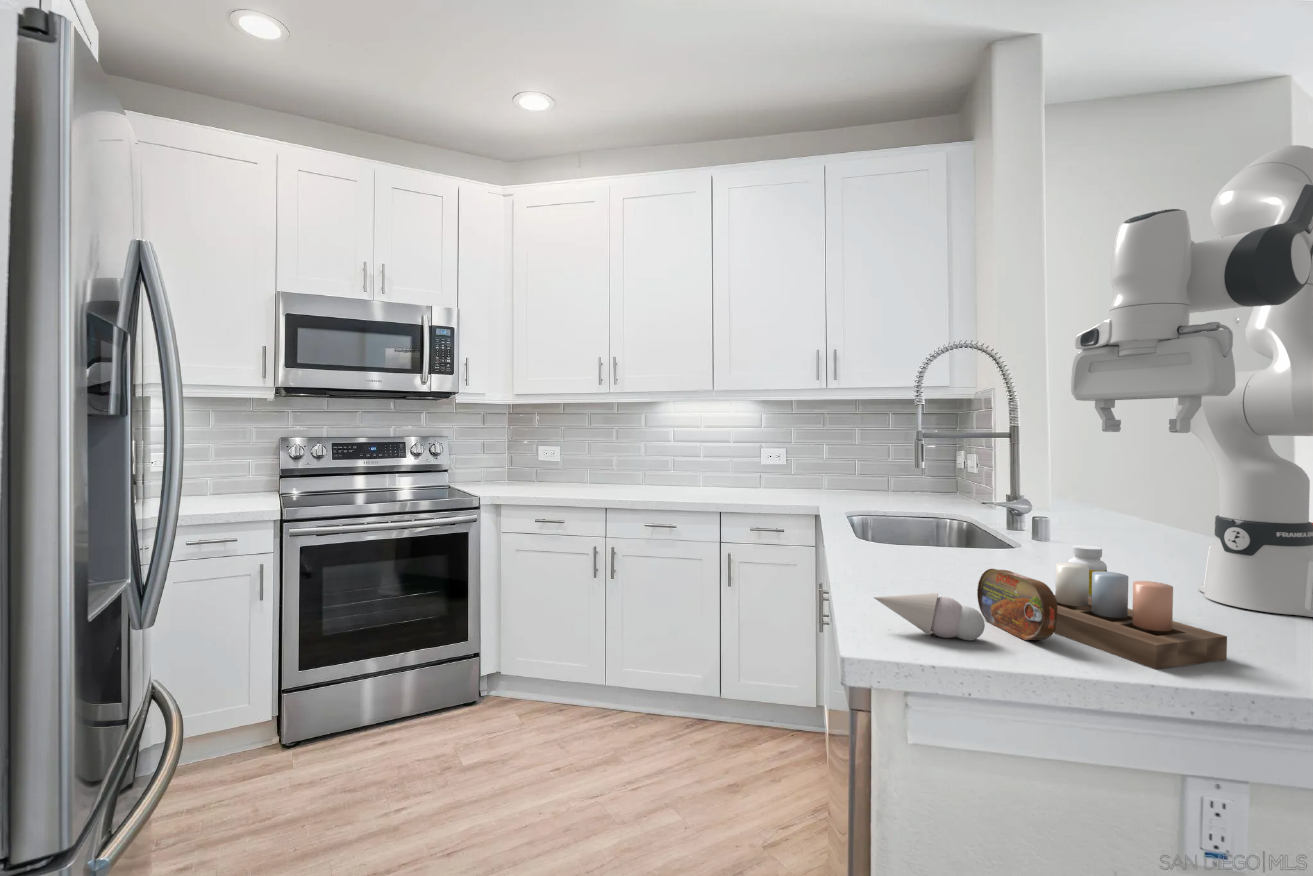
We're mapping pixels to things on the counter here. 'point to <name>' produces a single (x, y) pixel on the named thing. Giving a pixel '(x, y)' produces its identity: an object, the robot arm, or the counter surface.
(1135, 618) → the salmon pink cylinder
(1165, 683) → the counter surface
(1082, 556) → the supplement bottle
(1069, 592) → the key ivory
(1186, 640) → the wooden spice rack
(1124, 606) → the key slate
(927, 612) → the ice cream cone
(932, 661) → the counter surface
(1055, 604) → the tin
